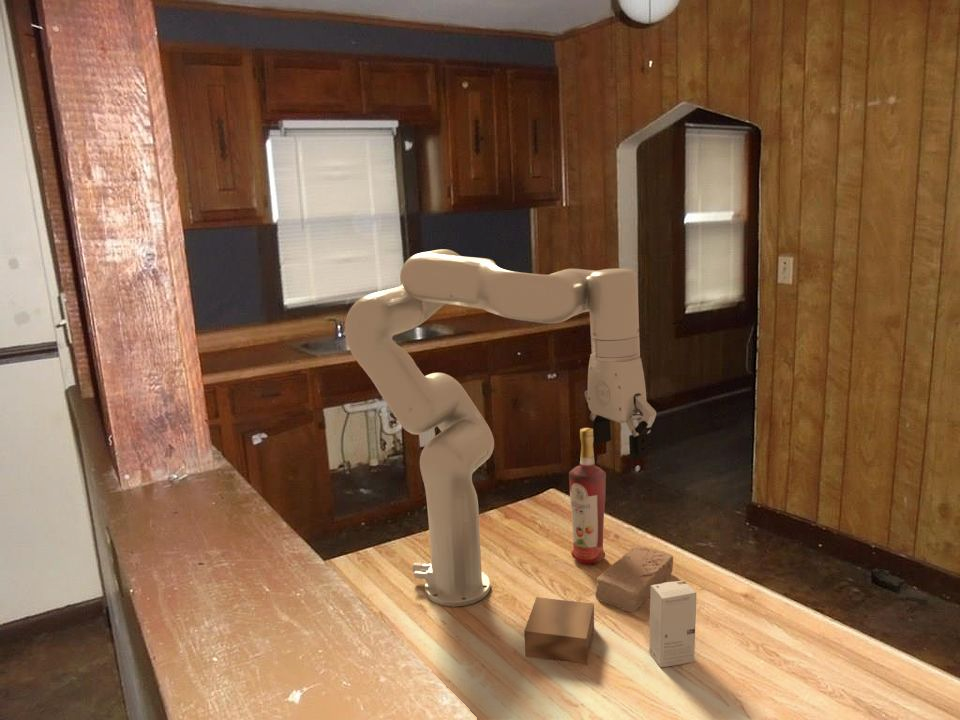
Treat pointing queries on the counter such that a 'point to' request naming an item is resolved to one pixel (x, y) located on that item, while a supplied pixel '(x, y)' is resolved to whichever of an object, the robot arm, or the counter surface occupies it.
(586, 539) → the liquor
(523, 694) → the counter surface
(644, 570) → the brick
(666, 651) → the skincare box
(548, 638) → the walnut block
